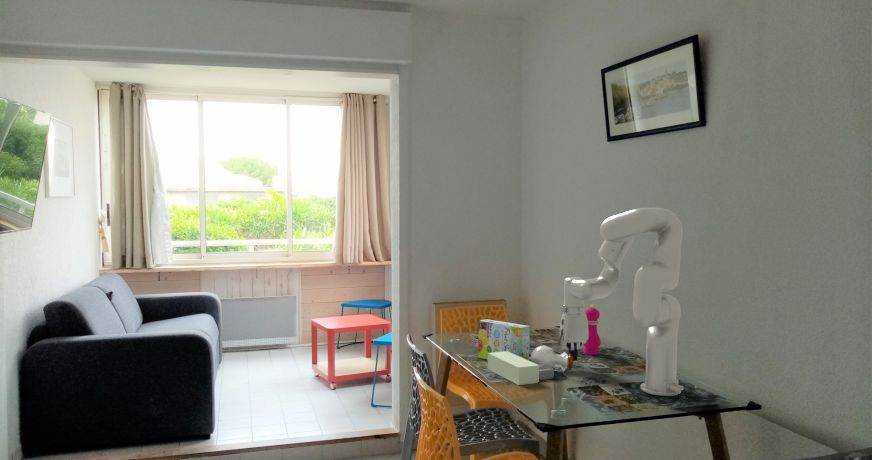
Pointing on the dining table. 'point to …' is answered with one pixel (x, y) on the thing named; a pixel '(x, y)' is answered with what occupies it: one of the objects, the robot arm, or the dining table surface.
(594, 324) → the pepper mill
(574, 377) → the dining table surface
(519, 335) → the snack box
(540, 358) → the potion bottle
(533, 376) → the green and grey block
